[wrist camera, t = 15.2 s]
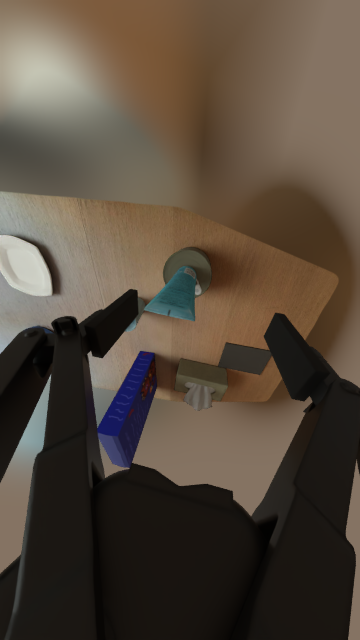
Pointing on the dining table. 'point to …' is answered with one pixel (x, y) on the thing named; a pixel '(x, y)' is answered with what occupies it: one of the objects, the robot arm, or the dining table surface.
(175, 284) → the tube
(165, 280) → the can
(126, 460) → the cereal box
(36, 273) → the plate
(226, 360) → the thin charcoal rectangular slate
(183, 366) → the tissue box
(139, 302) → the cup
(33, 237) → the dining table surface
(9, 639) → the robot arm
